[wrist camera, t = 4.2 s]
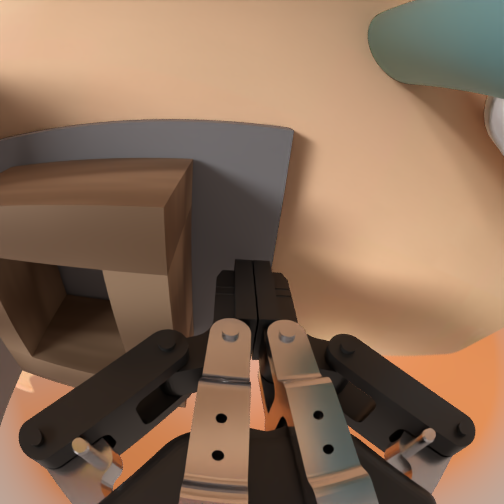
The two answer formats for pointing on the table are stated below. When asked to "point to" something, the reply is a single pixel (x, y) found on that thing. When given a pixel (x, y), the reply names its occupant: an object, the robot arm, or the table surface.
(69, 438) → the robot arm
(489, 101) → the salad plate
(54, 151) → the rail plate
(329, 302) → the table surface
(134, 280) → the block
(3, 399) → the backstop wall
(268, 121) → the table surface
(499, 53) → the teal rounded bar piece
